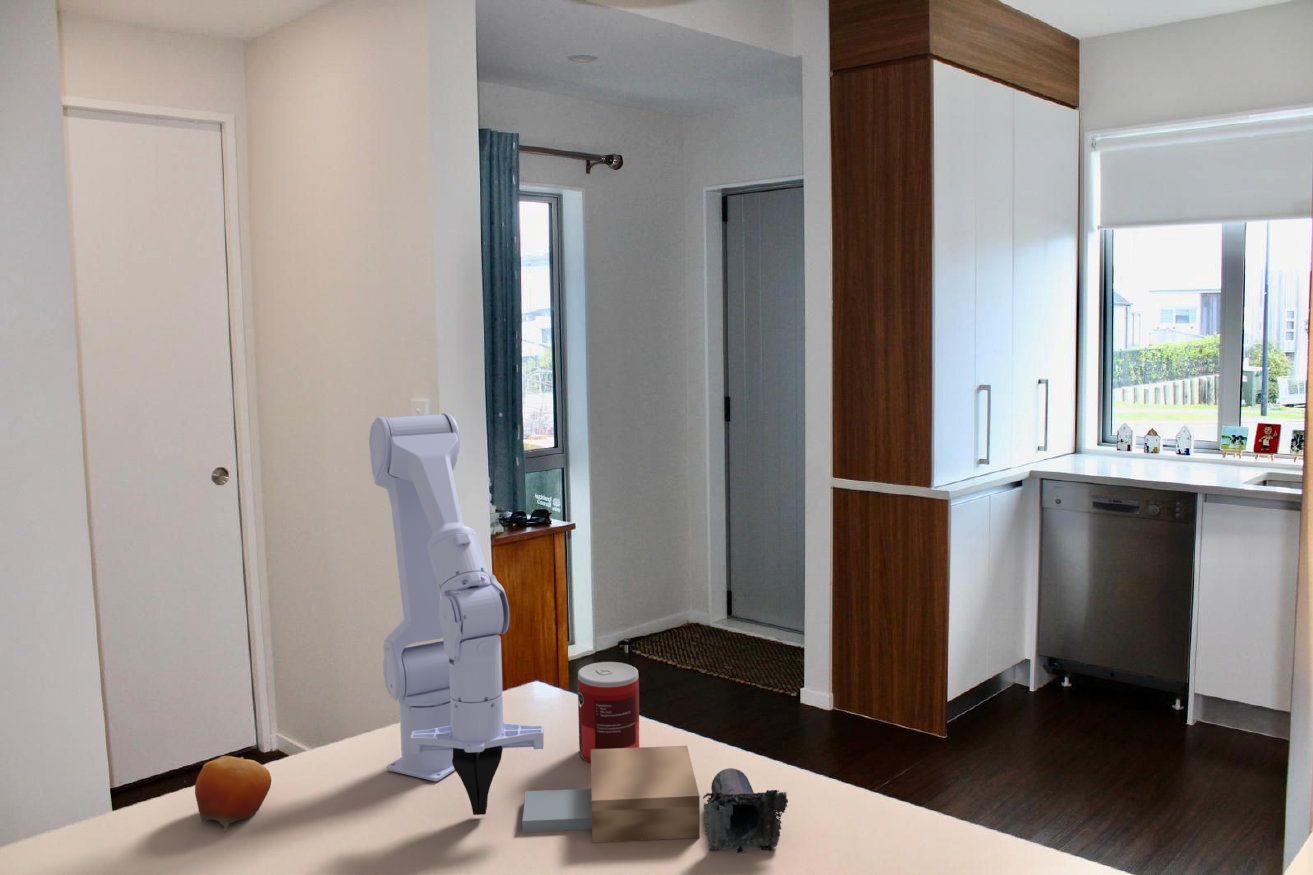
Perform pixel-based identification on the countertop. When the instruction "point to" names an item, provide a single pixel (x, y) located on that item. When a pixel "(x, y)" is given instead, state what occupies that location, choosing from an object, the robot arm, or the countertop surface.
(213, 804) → the fruit
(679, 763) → the brown wooden block
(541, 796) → the tile
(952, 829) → the countertop surface
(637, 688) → the canned food
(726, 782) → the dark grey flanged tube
